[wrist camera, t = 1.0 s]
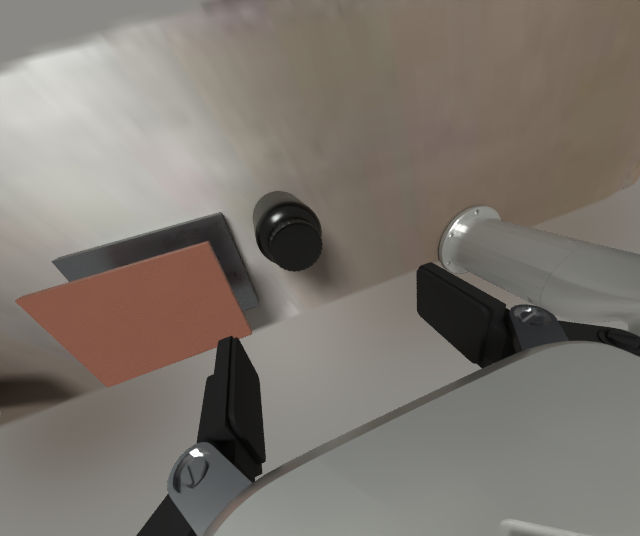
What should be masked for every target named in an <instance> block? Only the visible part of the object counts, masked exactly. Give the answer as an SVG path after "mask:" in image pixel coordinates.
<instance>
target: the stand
mask: <svg viewBox="0 0 640 536" xmlns="http://www.w3.org/2000/svg"><path fill="white" fill-rule="evenodd" d="M52 263H53V264H54V265H55V266H56V267H57V268H58V269H59V271H60V272H61V273H62V274H63V275H64V276H65V277H66V279H67V280H68V281H69V282H68V283H65V284H61V285H58V286H55V287H51V288H48V289H45V290H41V291H38V292H34V293H31V294H28V295H24V296H22V297H20V298H19V299H17V300H16V301H15V302H16V303H17V304H18V305H20V306H21V307H22V308H23V309H24V310H25V311H26V312H27V313H28V314H29V315H30V316H31V317H32V318H33V319H35V320H36V321H37V322H38V323H39V324H40V325H41V326H42V327H43V328H44V329H45V330H46V331H47V332H49V333H50V334H51V335H52V336H53V337H54V338H55V339H56V340H57V341H58V342H59V343H60V344H61V345H62V346H64V347H65V348H66V349H67V350H68V351H69V352H70V353H71V354H72V355H73V356H74V357H75V358H76V359H77V360H79V361H80V362H81V363H82V364H83V365H84V366H85V367H86V368H87V369H88V370H89V371H90V372H91V373H92V374H94V375H95V376H96V377H97V378H98V379H99V380H100V381H101V382H102V383H103V384H104V385H105V386H106V387H110V386H113V385H116V384H119V383H121V382H124V381H127V380H129V379H132V378H135V377H137V376H140V375H143V374H146V373H148V372H151V371H154V370H156V369H159V368H162V367H164V366H167V365H170V364H172V363H175V362H178V361H181V360H183V359H186V358H189V357H192V356H194V355H197V354H200V353H202V352H205V351H208V350H210V349H213V348H216V347H217V346H218V341H219V340H221V339H224V338H226V337H229V336H233V338H236V337H238V339H240V338H243V337H246V336H248V335H251V334H252V329H251V327H250V325H249V323H248V321H247V319H246V317H245V315H244V313H243V311H244V310H247V309H250V308H253V307H256V306H259V300H258V298H257V295H256V293H255V291H254V288H253V286H252V284H251V281H250V279H249V277H248V274H247V272H246V270H245V267H244V265H243V263H242V260H241V258H240V256H239V253H238V251H237V249H236V246H235V244H234V242H233V239H232V237H231V235H230V232H229V230H228V228H227V225H226V223H225V221H224V218H223V216H222V214H221V212H219V213H216V214H212V215H209V216H205V217H201V218H198V219H194V220H191V221H187V222H184V223H180V224H176V225H173V226H169V227H166V228H162V229H159V230H155V231H152V232H148V233H144V234H141V235H137V236H134V237H130V238H127V239H123V240H120V241H116V242H112V243H109V244H105V245H102V246H98V247H95V248H91V249H87V250H84V251H80V252H77V253H73V254H70V255H66V256H63V257H59V258H57V259H55V260H54V261H52Z"/></svg>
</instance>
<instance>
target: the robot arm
mask: <svg viewBox="0 0 640 536" xmlns="http://www.w3.org/2000/svg"><path fill="white" fill-rule="evenodd" d="M439 259H440V262H441V264H442V266H443V267H444V268H445V269H447V270H448V271H450V272H452V273H456V274H462V273H467V272H471V273H473V274H475V275H477V276H479V277H481V278H483V279H485V280H487V281H489V282H491V283H493V284H494V285H496V286H499V287H500V288H502V289H504V290H506V291H508V292H510V293H512V294H514V295H516V296H518V297H520V298H522V299H524V300H526V301H528V302H530V303H532V304H534V305H535V306H534V305H527V304H526V305H525V304H524V305H523V304H521V305H516V306H514V307H512V308H511V309H510V310H509V309H507V308H506V304H505V303H503V302H501V301H499V300H498V299H496V298H494V297H492V296H490V295H488V294H487V293H485V292H483V291H481V290H480V289H478V288H476V287H474V286H473V285H471V284H469V283H467V282H466V281H464V280H462V279H460V278H458V277H456V276H455V275H453V274H451V273H449V272H448V271H446V270H444V269H442V268H441V267H439V266H437V265H435V264H434V263H431V262H430V263H427V264H424V265H421V266H420V267H419V269H418V270H417V312H418V314H419V315H420V316H421V317H422V318H423V319H424V320H425V321H426V322H427V323H429V325H431V326H432V327H433V328H434V329H435V330H436V331H437V332H438V333H440V334H441V335H442V336H443V337H444V338H445V339H446V340H447V341H448V342H450V343H451V344H452V345H453V346H454V347H455V348H456V349H457V350H458V351H460V352H461V353H462V354H463V355H464V356H465V357H466V358H467V359H468V360H470V361H471V362H472V363H475V364H478V365H479V366H480V367H481V368H482V369H480V370H478V371H476V372H474V373H472V374H470V375H467V376H465V377H463V378H461V379H459V380H457V381H455V382H453V383H450V384H448V385H446V386H444V387H442V388H440V389H438V390H436V391H433V392H431V393H429V394H427V395H425V396H423V397H421V398H418V399H416V400H414V401H412V402H410V403H408V404H406V405H404V406H402V407H400V408H397V409H395V410H393V411H391V412H389V413H387V414H385V415H383V416H381V417H378V418H376V419H374V420H372V421H370V422H368V423H366V424H364V425H362V426H360V427H358V428H356V429H354V430H351V431H349V432H347V433H345V434H343V435H341V436H339V437H337V438H335V439H333V440H331V441H329V442H327V443H324V444H323V445H321V446H319V447H316V448H314V449H312V450H310V451H308V452H307V453H305V454H303V455H301V456H299V457H297V458H295V459H293V460H291V461H289V462H287V463H285V464H283V465H282V466H280V467H278V468H276V469H274V470H272V471H271V472H269V473H267V474H265V475H264V476H263V477H261V478H259V479H258V480H257V481H255V477H256V476H258V475H261V474H262V463H264V462H265V461H266V455H265V443H264V432H263V431H264V430H263V418H262V405H261V394H260V381H259V377H258V374H257V372H256V371H255V369H254V367H253V365H252V363H251V361H250V359H249V358H248V356H247V354H246V352H245V350H244V348H243V346H242V344H241V342H240V341H239V339H238V337H236V338H233V336H229V337H226V338H224V339H221V340H219V341H218V346H217V354H216V362H215V370H214V374H213V375H211V376H209V377H208V378H207V381H206V386H205V392H204V399H203V405H202V412H201V418H200V424H199V431H198V437H197V444H195V445H193V446H191V447H190V448H188V449H187V450H186V451H185V452H184V453H183V454H182V455H181V456H180V457H179V459H178V460H177V461H176V463H175V464H174V466H173V468H172V470H171V472H170V475H169V478H168V482H167V491H168V495H167V496H166V497H165V499H164V500H163V501H162V503H161V504H160V505H159V507H158V508H157V510H156V511H155V512H154V513H153V514H152V516H151V517H150V519H149V520H148V521H147V522H146V524H145V525H144V526H143V528H142V529H141V530H140V532H139V533H138V534H137V536H640V254H637V253H633V252H628V251H624V250H619V249H615V248H611V247H607V246H603V245H599V244H594V243H590V242H586V241H582V240H578V239H574V238H570V237H566V236H562V235H558V234H554V233H550V232H546V231H542V230H538V229H534V228H530V227H526V226H522V225H518V224H514V223H510V222H506V221H502V220H501V219H500V216H499V214H498V213H497V212H496V210H494V209H493V208H490V207H487V206H473V207H471V208H468V209H466V210H464V211H463V212H461V213H460V214H459V215H458V216H456V217H455V218H454V219H453V220H452V222H451V223H450V224H449V226H448V227H447V228H446V230H445V232H444V234H443V236H442V239H441V241H440V246H439ZM554 315H555V316H557V317H560V318H563V319H566V320H569V321H574V322H585V323H592V322H610V321H622V322H626V323H627V324H628V330H627V331H625V330H621V329H616V328H610V327H603V326H594V325H587V324H580V323H572V322H565V321H558V320H557V318H556V317H555V316H554Z"/></svg>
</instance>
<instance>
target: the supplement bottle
mask: <svg viewBox="0 0 640 536" xmlns="http://www.w3.org/2000/svg"><path fill="white" fill-rule="evenodd" d="M253 224H254V230H255V237H256V242H257V245H258V247H259V249H260V251H261V252H262V254H263V255H264V256H265V257H266V258H267V259H269V260H270V261H272V262H274V263H276V264H277V265H279V266H280V267H281V268H283V269H284V270H288V271H300V270H304V269H306V268H309V267H310V266H312V265H313V263H315V262H316V260H317V259H318V258H319V255H320V254H321V250H322V239H321V235H322V231H321V225H320V222H319V219H318V217H317V216H316V214H315V213H314V212H313V211H312V210H311V209H310V208H309V207H308V206H306V205H305V204H304V203H303V202H301V201H300V200H299V199H298V198H296V197H295V196H293V195H292V194H290V193H287V192H283V191H275V192H271V193H268V194H266V195H264V196H263V197H262V198H261V199H260V200H259V201H258V202H257V204H256V206H255V208H254V212H253Z"/></svg>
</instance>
